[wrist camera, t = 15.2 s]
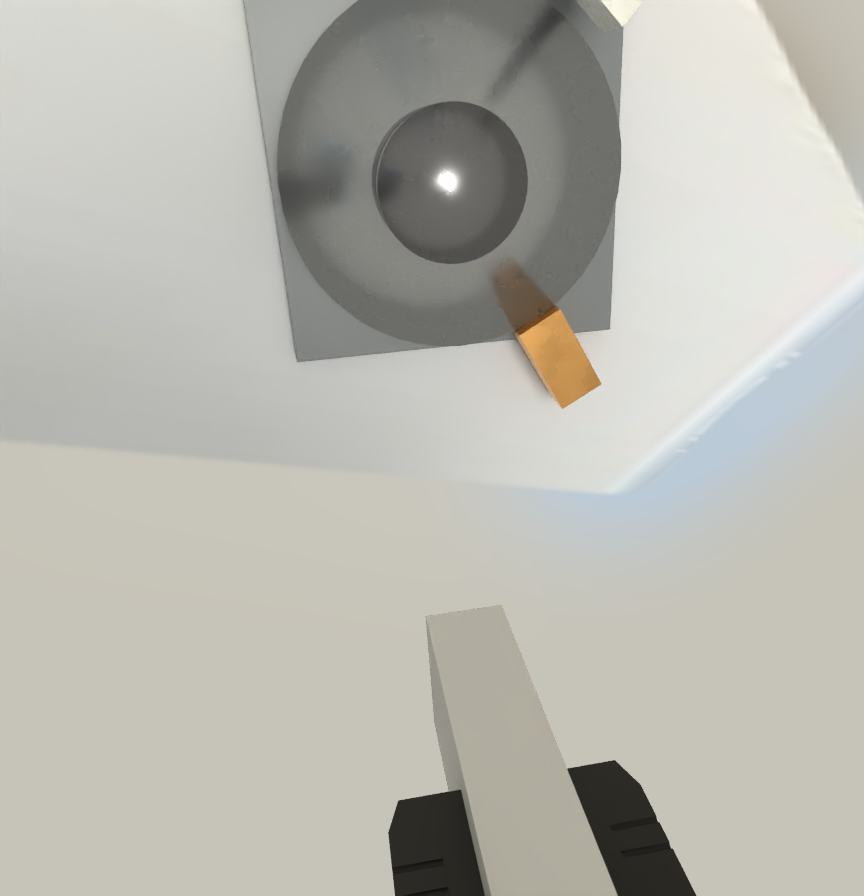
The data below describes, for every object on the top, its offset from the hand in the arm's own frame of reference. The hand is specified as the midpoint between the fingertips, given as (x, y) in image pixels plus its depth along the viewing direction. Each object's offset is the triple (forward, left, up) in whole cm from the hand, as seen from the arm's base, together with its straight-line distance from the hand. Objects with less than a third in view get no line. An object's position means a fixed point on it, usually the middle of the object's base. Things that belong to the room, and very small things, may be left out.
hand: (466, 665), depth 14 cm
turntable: (+7, +4, -33) cm, 34 cm away
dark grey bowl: (+5, +7, -32) cm, 33 cm away
